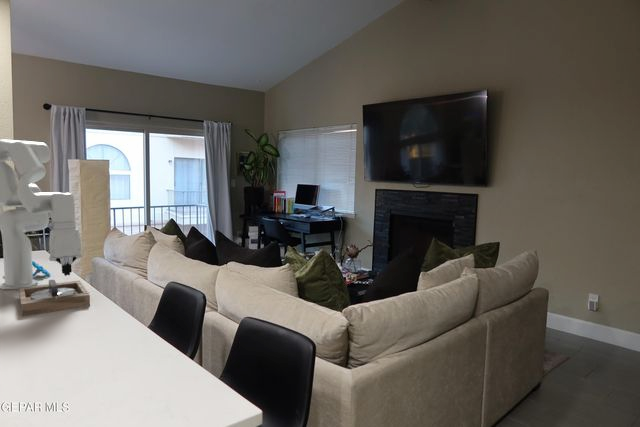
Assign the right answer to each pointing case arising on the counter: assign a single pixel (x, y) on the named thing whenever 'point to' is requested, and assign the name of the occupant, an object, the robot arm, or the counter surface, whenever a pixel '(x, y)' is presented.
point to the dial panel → (53, 299)
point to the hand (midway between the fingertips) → (67, 274)
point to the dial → (52, 291)
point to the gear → (39, 269)
